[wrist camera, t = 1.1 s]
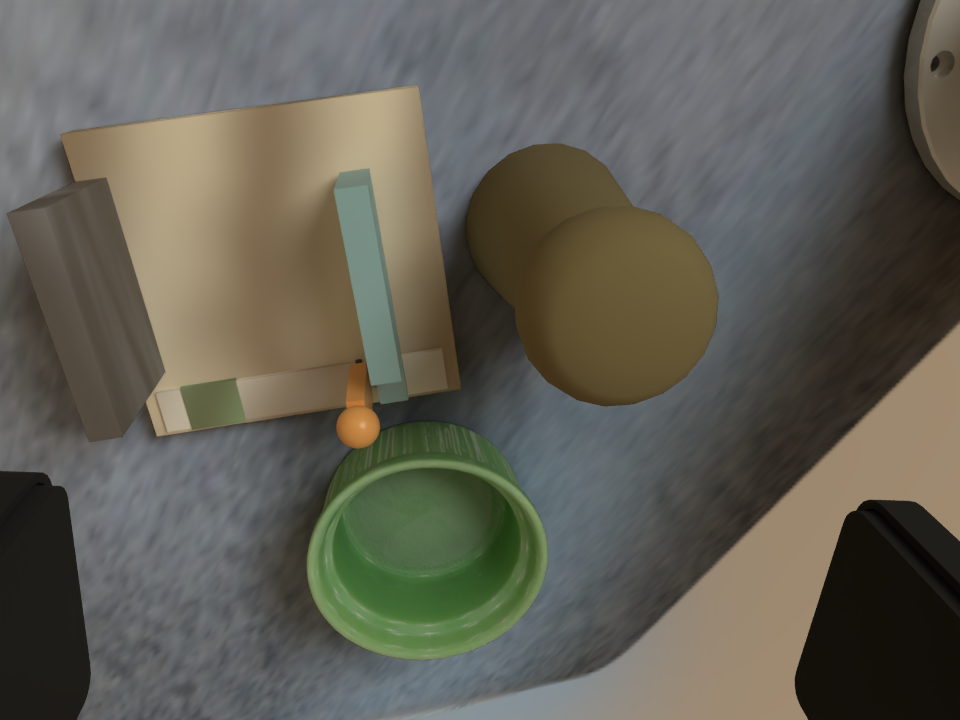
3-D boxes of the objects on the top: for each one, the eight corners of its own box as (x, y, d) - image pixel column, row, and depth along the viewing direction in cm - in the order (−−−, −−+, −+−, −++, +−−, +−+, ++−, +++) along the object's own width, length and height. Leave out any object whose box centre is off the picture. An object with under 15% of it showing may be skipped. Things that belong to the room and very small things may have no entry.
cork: (617, 127, 28) (750, 179, 18) (634, 287, 30) (761, 413, 20) (450, 162, 27) (488, 235, 17) (481, 319, 30) (531, 464, 20)
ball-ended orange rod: (377, 360, 28) (375, 413, 24) (383, 394, 29) (382, 452, 25) (338, 366, 28) (331, 420, 24) (345, 400, 29) (339, 459, 25)
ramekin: (390, 620, 35) (390, 696, 31) (271, 475, 32) (254, 539, 28) (565, 526, 34) (589, 592, 30) (462, 366, 31) (473, 416, 27)
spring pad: (369, 168, 26) (367, 184, 23) (407, 389, 29) (409, 429, 26) (339, 172, 26) (333, 189, 23) (380, 394, 29) (380, 434, 26)
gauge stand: (417, 85, 26) (425, 97, 21) (459, 378, 31) (475, 453, 25) (71, 130, 26) (-14, 156, 20) (164, 424, 30) (114, 511, 24)
